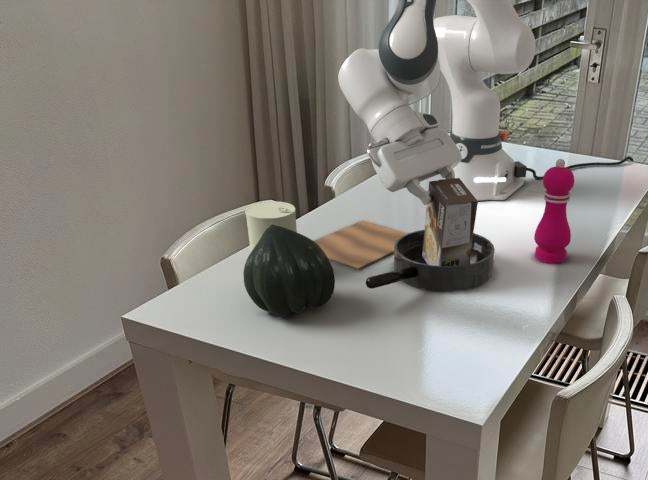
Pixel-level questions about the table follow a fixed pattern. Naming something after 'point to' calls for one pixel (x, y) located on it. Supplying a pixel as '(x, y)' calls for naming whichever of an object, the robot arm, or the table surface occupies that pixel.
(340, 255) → the wooden board
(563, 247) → the pepper mill
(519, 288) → the table surface
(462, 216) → the coffee box
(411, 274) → the pan handle
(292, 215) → the can
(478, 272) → the pan
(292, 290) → the squash
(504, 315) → the table surface
